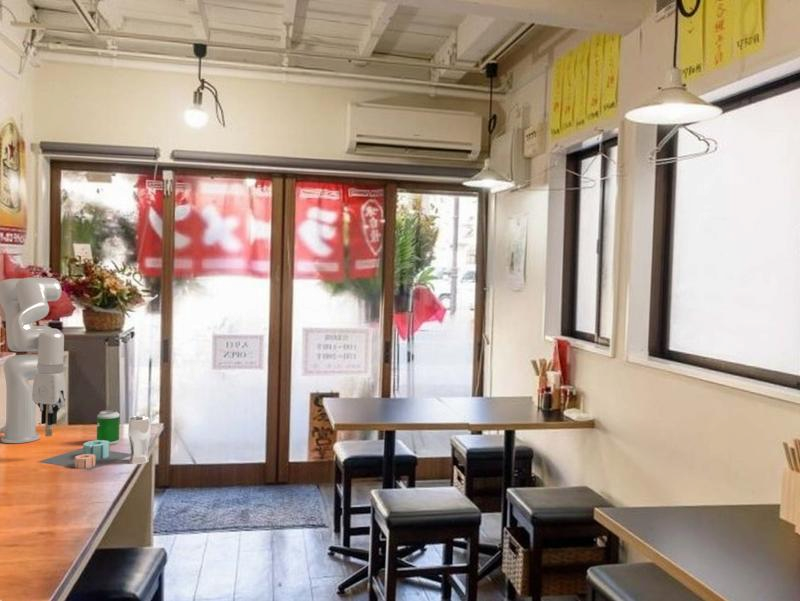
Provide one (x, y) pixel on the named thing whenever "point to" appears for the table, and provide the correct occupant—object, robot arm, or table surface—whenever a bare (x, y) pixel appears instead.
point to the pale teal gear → (97, 448)
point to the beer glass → (139, 438)
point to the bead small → (85, 461)
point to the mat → (69, 458)
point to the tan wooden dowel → (49, 427)
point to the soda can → (108, 426)
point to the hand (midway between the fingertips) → (49, 423)
